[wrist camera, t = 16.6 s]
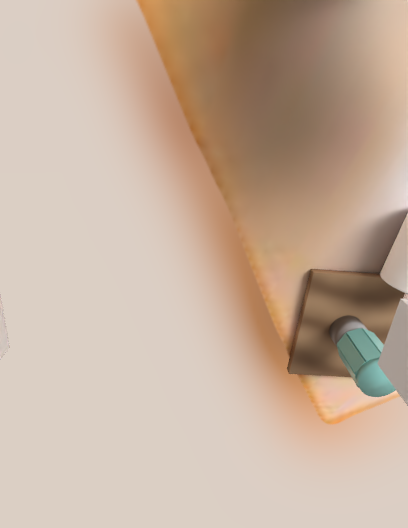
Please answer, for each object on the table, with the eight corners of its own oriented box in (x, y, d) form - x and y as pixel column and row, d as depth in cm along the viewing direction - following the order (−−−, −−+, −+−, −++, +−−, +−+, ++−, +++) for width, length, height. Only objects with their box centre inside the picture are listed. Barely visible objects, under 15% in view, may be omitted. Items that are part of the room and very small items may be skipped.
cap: (360, 364, 51) (385, 402, 44) (330, 352, 50) (350, 388, 43) (383, 336, 49) (412, 371, 42) (352, 323, 48) (377, 356, 41)
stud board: (311, 268, 50) (336, 303, 41) (405, 275, 51) (449, 310, 42) (287, 368, 57) (304, 415, 48) (369, 372, 58) (401, 419, 49)
